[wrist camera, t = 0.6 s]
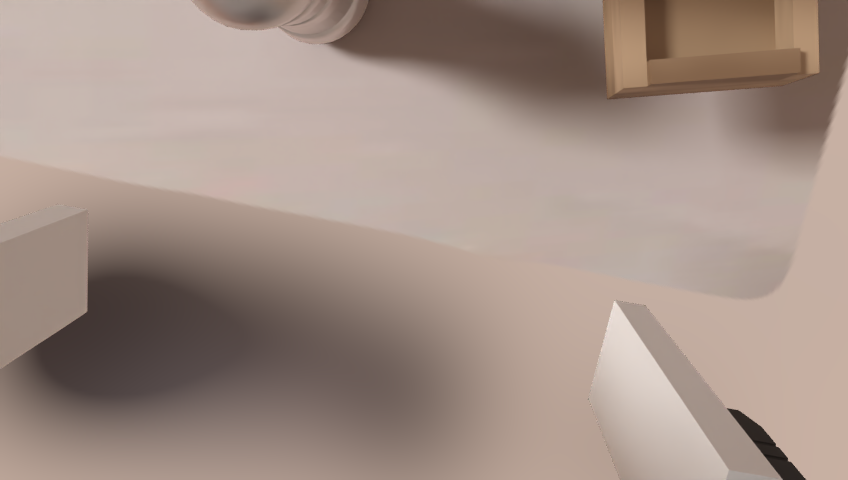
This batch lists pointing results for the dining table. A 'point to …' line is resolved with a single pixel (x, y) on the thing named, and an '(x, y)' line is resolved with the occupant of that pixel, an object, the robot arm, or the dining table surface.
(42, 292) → the robot arm
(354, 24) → the plastic bottle
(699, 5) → the beam
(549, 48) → the dining table surface
